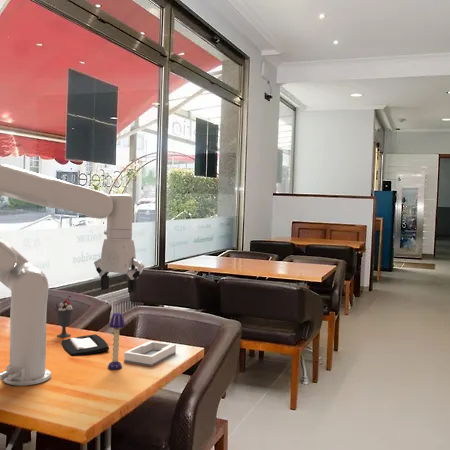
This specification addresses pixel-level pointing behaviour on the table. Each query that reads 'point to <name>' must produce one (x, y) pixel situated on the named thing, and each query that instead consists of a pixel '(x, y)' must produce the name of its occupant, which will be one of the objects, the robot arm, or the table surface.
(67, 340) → the light switch
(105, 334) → the table surface
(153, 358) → the white rimmed dish
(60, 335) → the sundae
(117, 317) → the toy lamp
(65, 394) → the table surface
